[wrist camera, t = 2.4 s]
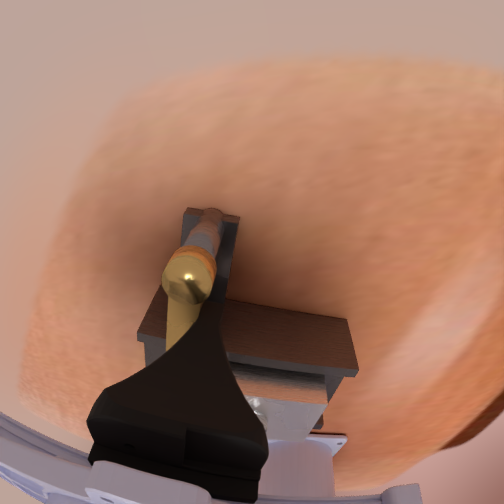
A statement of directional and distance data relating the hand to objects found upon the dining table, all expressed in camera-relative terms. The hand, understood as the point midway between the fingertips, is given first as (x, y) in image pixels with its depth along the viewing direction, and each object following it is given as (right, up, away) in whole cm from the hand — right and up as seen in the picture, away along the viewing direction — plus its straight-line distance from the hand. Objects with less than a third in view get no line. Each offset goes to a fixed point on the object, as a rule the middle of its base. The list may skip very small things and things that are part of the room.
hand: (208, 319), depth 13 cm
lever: (-1, -1, +1) cm, 2 cm away
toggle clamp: (+2, 0, +5) cm, 5 cm away
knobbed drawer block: (+3, -4, +4) cm, 6 cm away
